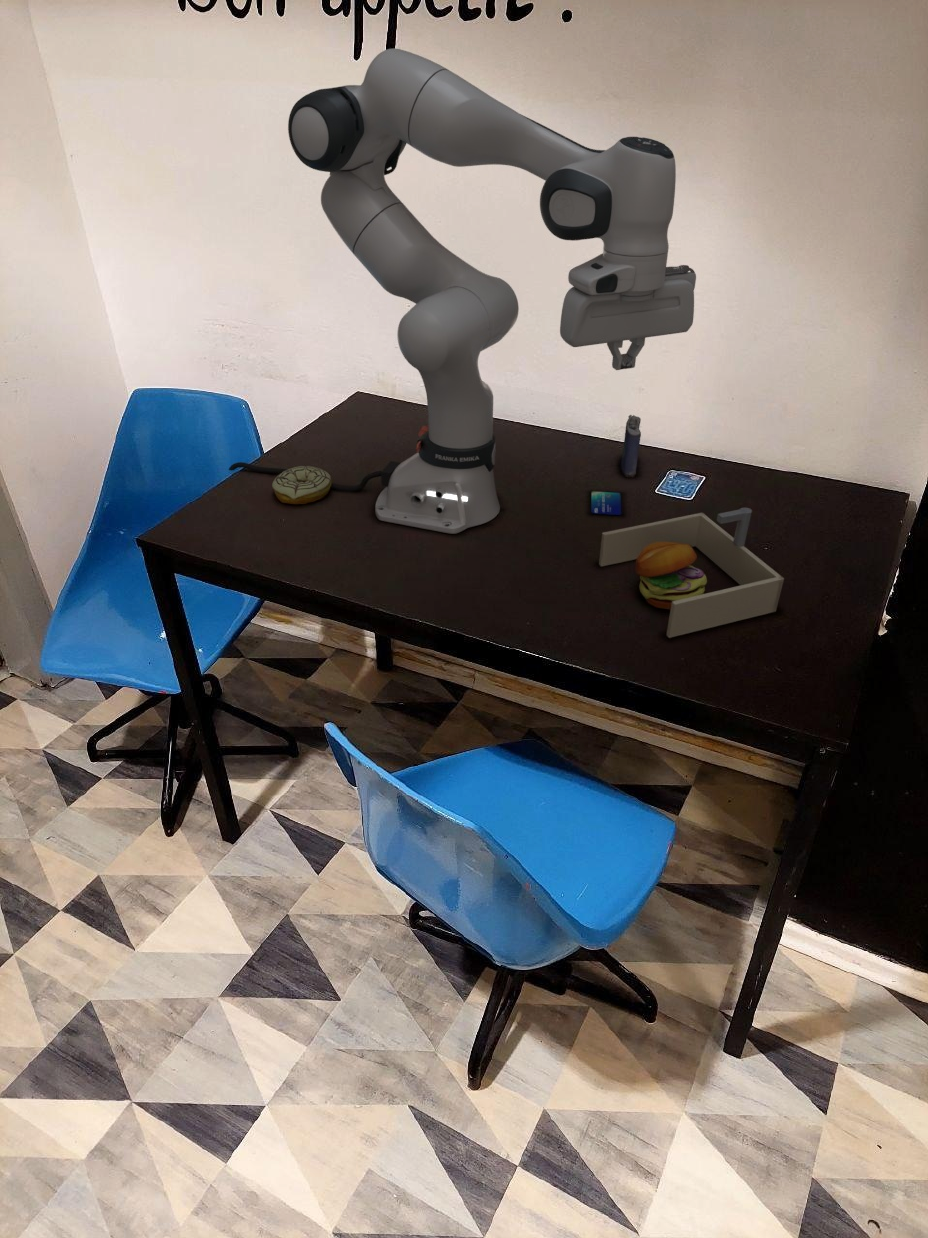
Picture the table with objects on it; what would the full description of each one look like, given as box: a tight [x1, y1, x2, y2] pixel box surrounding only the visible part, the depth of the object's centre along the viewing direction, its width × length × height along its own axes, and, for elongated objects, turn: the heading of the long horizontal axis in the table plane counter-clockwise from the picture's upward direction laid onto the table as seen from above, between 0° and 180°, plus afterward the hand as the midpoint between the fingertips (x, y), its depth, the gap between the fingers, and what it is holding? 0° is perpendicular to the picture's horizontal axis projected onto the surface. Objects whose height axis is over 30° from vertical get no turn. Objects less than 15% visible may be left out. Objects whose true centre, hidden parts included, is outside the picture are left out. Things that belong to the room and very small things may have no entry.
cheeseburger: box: [634, 542, 708, 611], centre depth 136 cm, size 10×11×10 cm
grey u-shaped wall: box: [598, 507, 785, 639], centre depth 136 cm, size 19×22×12 cm
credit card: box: [590, 490, 622, 516], centre depth 162 cm, size 8×5×1 cm, turn 173°
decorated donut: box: [271, 465, 332, 505], centre depth 164 cm, size 10×11×4 cm
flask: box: [620, 414, 642, 478], centre depth 171 cm, size 9×3×11 cm, turn 172°
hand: (623, 367), depth 131 cm, fingers closed
